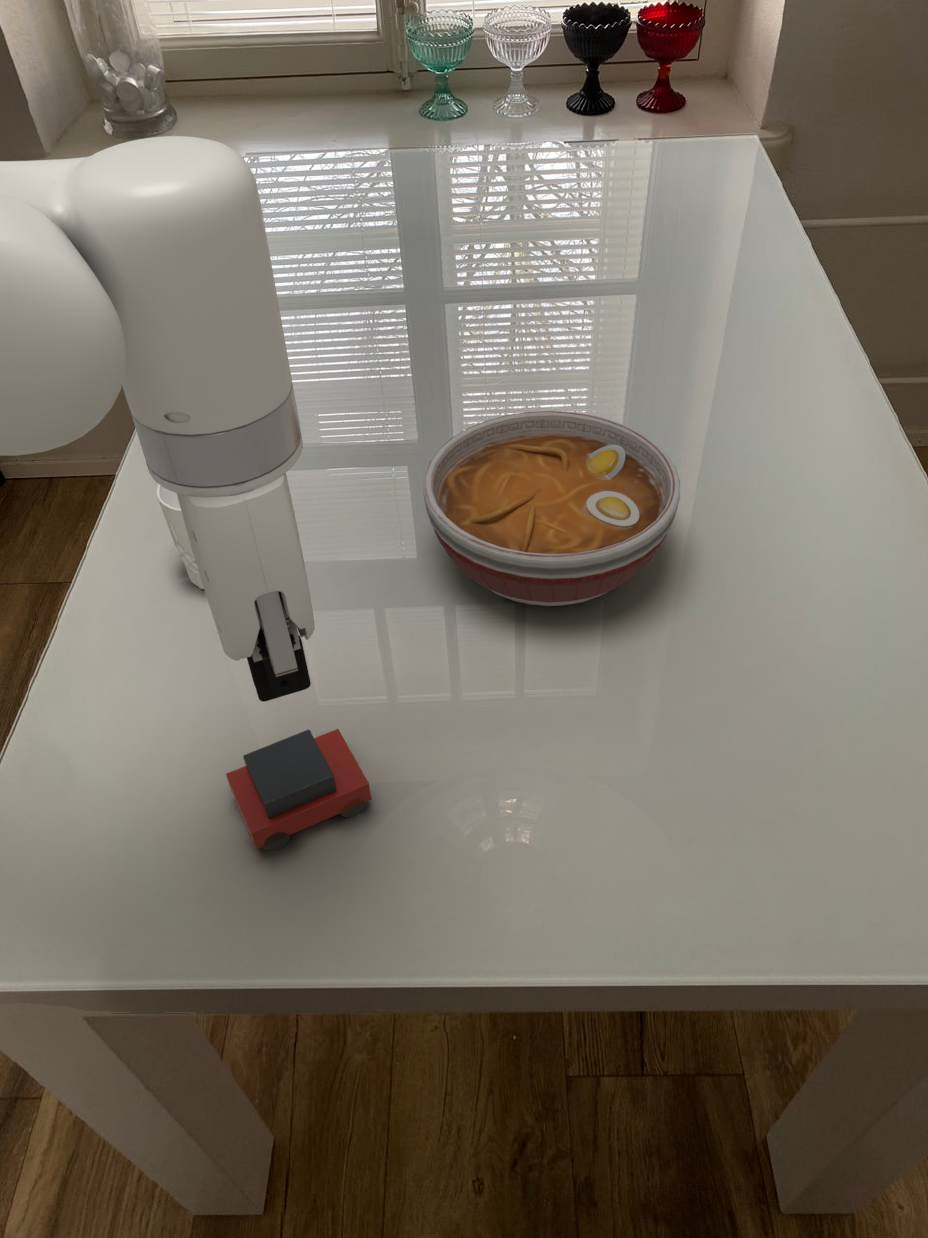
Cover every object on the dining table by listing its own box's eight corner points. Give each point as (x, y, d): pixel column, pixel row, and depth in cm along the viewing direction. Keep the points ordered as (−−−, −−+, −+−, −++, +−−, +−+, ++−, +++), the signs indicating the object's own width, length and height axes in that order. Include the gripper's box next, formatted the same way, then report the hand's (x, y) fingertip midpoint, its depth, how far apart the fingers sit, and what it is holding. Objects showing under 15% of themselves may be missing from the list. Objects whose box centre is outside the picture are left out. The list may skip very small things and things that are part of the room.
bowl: (698, 525, 95) (712, 440, 89) (620, 678, 81) (630, 589, 74) (490, 472, 103) (489, 390, 96) (385, 602, 89) (375, 516, 82)
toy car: (246, 818, 66) (220, 758, 70) (258, 857, 69) (233, 797, 73) (366, 768, 69) (335, 712, 73) (373, 807, 72) (342, 752, 76)
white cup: (272, 583, 91) (253, 497, 84) (190, 605, 89) (163, 519, 82) (254, 535, 97) (235, 451, 90) (176, 556, 95) (150, 471, 88)
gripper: (120, 372, 50) (199, 626, 63) (165, 535, 40) (248, 799, 52) (261, 343, 52) (310, 594, 64) (338, 491, 42) (379, 756, 54)
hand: (282, 685), depth 58 cm, fingers closed
